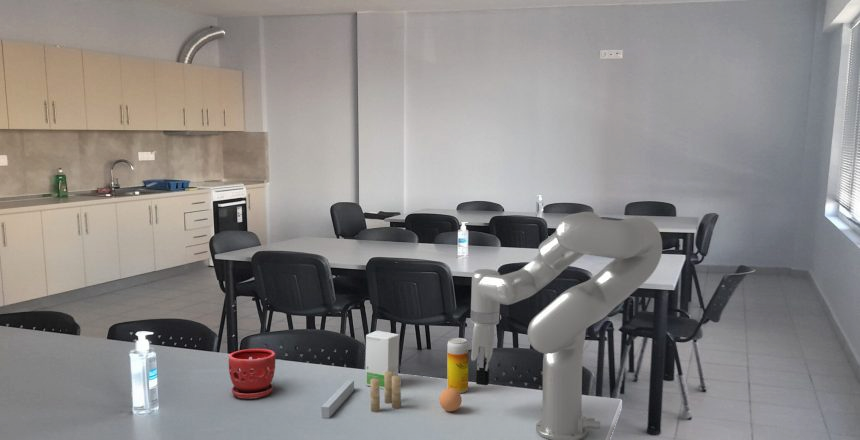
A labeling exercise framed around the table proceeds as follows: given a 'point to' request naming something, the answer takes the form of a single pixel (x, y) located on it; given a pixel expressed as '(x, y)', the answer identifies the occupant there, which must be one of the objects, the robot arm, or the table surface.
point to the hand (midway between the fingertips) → (482, 383)
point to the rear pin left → (375, 395)
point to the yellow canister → (457, 364)
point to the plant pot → (252, 372)
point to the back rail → (337, 399)
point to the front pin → (396, 392)
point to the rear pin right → (388, 386)
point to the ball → (450, 399)
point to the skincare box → (381, 356)
